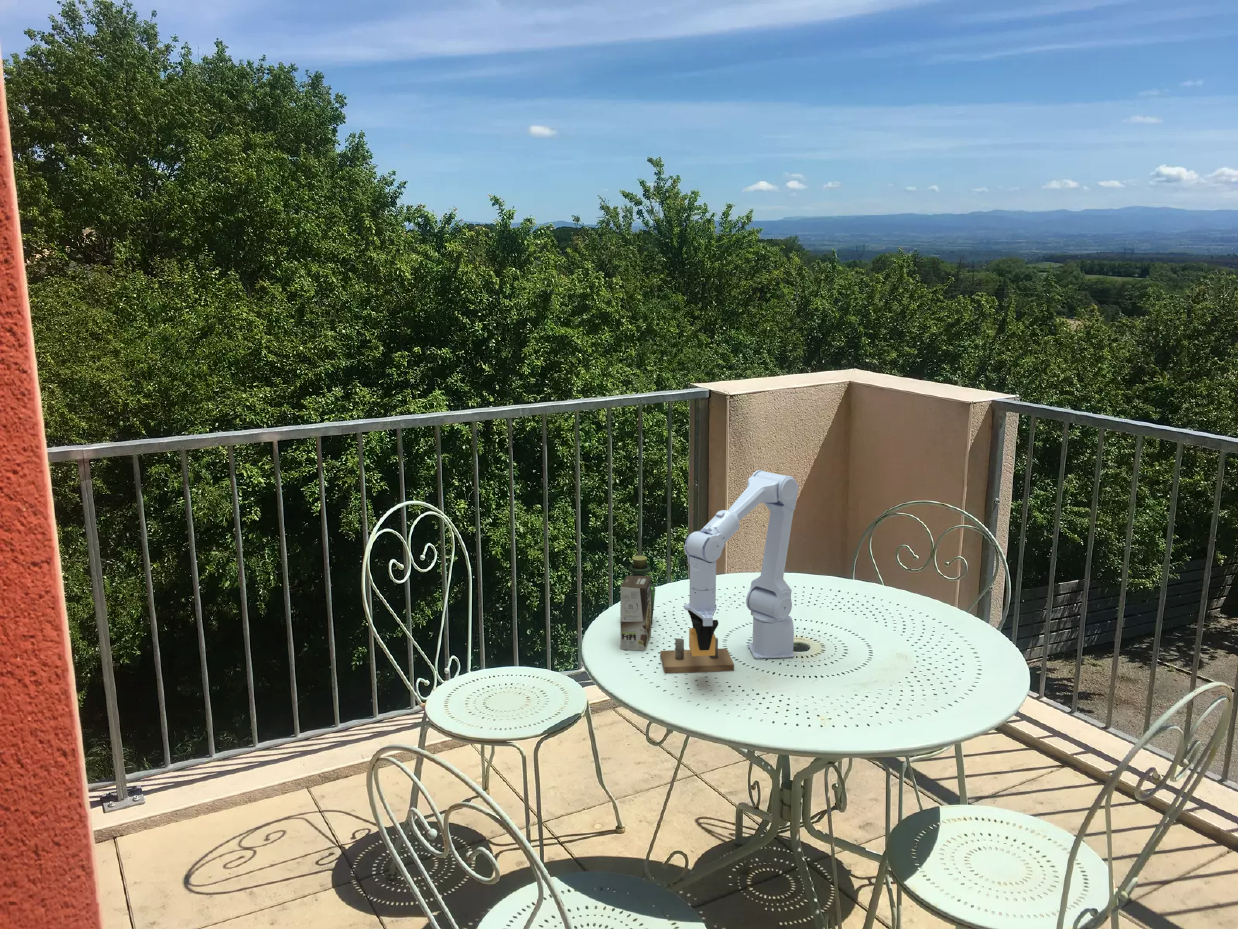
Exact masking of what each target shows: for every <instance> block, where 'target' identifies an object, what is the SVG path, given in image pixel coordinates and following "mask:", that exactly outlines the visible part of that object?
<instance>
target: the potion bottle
mask: <svg viewBox="0 0 1238 929" xmlns="http://www.w3.org/2000/svg"><path fill="white" fill-rule="evenodd" d="M647 560H648V557H647V556H645V555H635V556H632V564H630V566H629V567H628V573H630V574H632V576H648V574H649V573H651V572H652V569H651V566H650V565H649V564H647ZM655 597H656V587H655V586H654V584H653V583H652V582H651V626H652V624H653V620H654V610H655V609H654V608H655Z"/></svg>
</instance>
